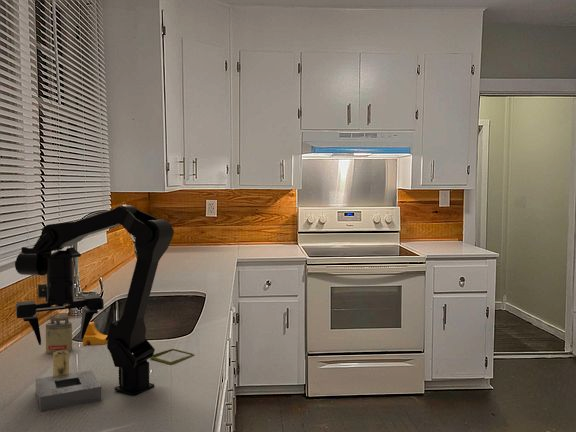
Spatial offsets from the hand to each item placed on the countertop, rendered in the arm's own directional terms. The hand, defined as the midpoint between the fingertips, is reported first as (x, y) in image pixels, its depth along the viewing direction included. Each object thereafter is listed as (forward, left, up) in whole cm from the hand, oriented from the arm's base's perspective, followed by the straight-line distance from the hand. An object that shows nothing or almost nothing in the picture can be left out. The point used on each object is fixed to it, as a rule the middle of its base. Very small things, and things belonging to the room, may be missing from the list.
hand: (61, 341), depth 125 cm
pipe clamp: (+15, -26, -10) cm, 32 cm away
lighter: (+21, -15, -10) cm, 28 cm away
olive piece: (-12, -25, -10) cm, 29 cm away
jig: (-9, +5, -10) cm, 14 cm away
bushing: (0, 0, -10) cm, 10 cm away
